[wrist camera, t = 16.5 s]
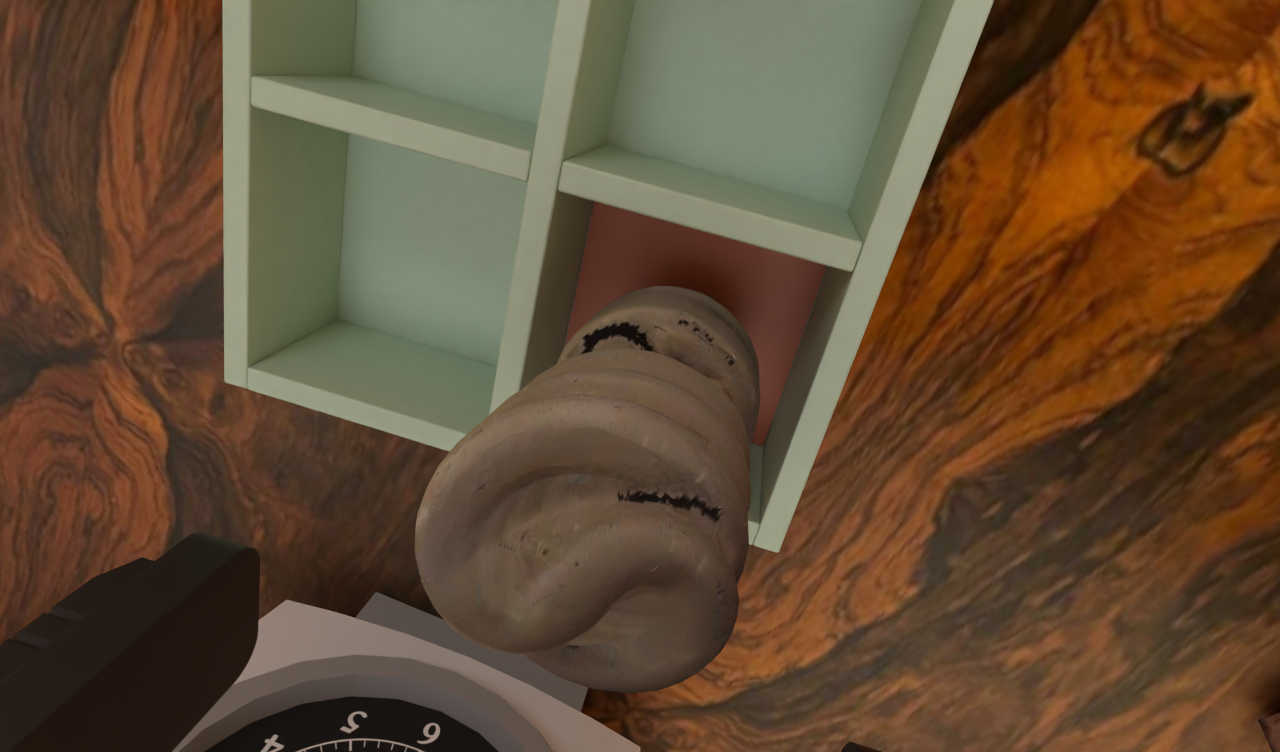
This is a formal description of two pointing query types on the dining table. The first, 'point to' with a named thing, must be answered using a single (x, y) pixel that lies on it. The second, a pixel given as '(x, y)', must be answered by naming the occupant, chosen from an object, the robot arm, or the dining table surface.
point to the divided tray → (569, 193)
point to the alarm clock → (392, 691)
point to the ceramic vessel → (1272, 731)
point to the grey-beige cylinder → (605, 500)
